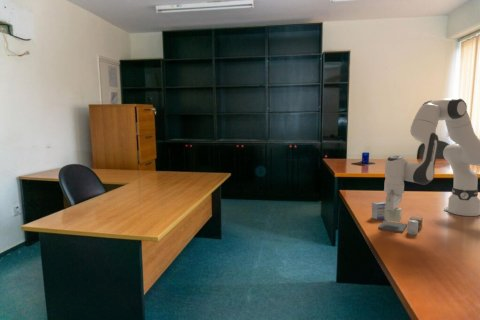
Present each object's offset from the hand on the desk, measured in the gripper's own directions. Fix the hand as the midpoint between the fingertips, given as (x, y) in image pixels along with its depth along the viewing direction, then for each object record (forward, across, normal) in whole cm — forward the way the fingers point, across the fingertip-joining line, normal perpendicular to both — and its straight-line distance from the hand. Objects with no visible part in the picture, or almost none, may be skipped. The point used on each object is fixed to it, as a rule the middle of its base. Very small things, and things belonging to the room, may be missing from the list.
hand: (392, 215), depth 163 cm
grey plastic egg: (+6, -4, -10) cm, 12 cm away
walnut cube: (+6, +6, -10) cm, 13 cm away
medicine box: (+6, +13, +9) cm, 17 cm away
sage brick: (+2, 0, 0) cm, 2 cm away
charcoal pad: (+6, 0, 0) cm, 6 cm away
